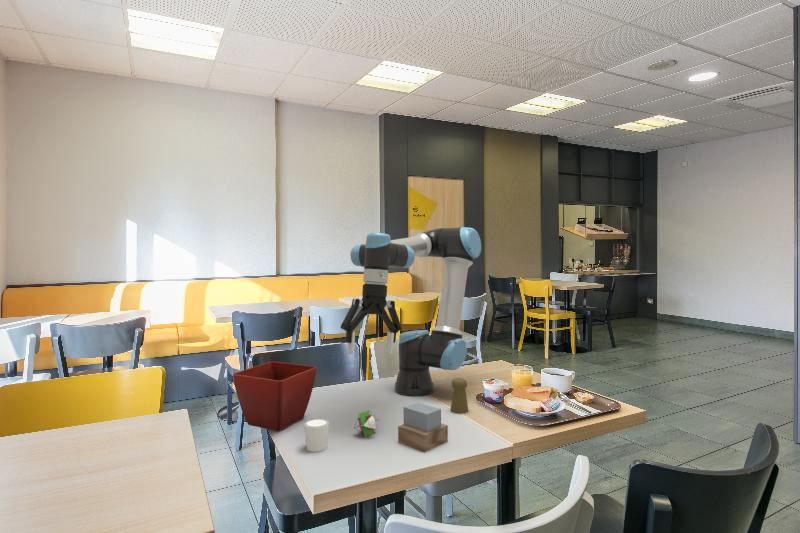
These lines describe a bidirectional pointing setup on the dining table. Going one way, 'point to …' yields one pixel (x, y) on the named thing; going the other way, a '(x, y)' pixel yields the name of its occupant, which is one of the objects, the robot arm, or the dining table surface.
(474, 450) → the dining table surface
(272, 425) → the plant pot
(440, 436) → the tower base block
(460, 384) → the cork
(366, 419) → the geometric puzzle
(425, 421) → the tower top block
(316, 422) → the white cup
